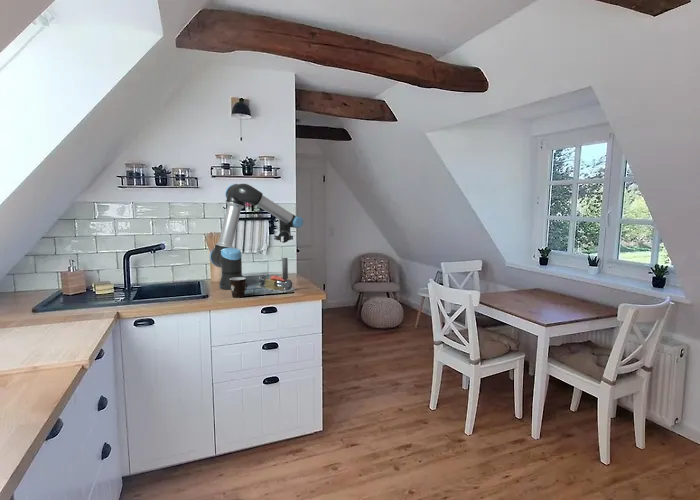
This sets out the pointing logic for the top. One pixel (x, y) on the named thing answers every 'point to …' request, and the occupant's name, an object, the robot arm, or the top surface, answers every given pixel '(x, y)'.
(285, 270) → the lever
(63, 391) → the top surface
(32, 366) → the top surface
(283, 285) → the valve
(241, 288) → the coffee mug
